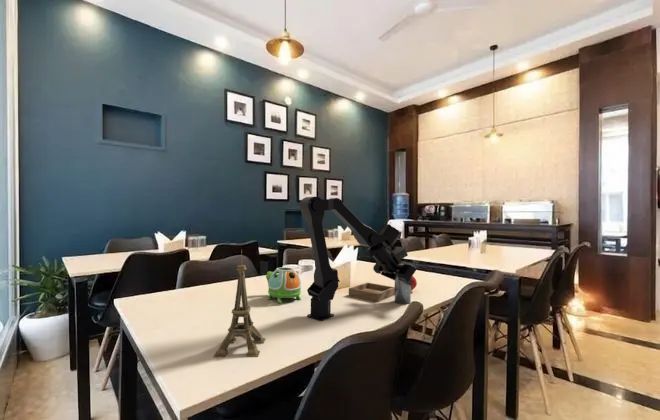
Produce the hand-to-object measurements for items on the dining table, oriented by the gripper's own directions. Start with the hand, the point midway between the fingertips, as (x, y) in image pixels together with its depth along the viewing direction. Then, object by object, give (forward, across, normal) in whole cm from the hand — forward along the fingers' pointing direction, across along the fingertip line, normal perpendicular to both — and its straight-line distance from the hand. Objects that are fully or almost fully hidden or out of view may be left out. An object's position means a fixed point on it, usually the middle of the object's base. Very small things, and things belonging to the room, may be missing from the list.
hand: (405, 282), depth 125 cm
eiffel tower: (-41, -11, +52) cm, 67 cm away
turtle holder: (-23, +27, +34) cm, 49 cm away
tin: (+4, 0, +6) cm, 7 cm away
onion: (+14, +11, -4) cm, 18 cm away
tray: (+1, +13, +9) cm, 16 cm away
